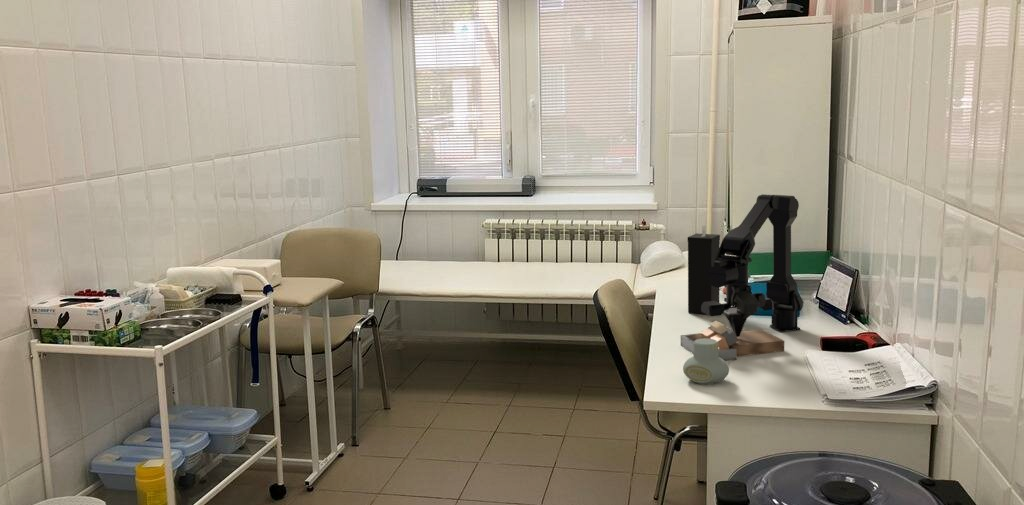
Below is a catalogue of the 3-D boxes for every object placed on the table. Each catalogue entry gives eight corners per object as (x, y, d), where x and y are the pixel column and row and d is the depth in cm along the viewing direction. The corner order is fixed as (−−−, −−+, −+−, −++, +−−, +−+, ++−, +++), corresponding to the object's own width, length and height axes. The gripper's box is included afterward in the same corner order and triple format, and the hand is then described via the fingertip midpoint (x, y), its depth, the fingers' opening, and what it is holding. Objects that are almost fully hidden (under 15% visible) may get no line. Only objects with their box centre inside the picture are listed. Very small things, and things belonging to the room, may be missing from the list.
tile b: (717, 333, 230) (710, 338, 230) (724, 337, 226) (716, 342, 226) (723, 346, 231) (715, 350, 231) (730, 350, 227) (722, 354, 227)
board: (761, 339, 241) (761, 329, 241) (784, 351, 230) (784, 340, 229) (712, 344, 238) (712, 334, 238) (733, 357, 227) (733, 346, 226)
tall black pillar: (719, 310, 276) (720, 224, 271) (711, 315, 270) (711, 228, 265) (696, 307, 280) (696, 223, 275) (687, 313, 274) (687, 226, 269)
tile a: (708, 328, 236) (700, 332, 236) (714, 331, 232) (706, 336, 232) (713, 340, 237) (705, 344, 237) (719, 344, 233) (711, 348, 233)
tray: (707, 342, 241) (707, 332, 240) (736, 359, 224) (736, 348, 224) (680, 345, 239) (680, 335, 238) (707, 363, 222) (707, 352, 222)
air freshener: (677, 381, 209) (677, 342, 207) (692, 372, 216) (692, 334, 214) (719, 389, 203) (720, 348, 201) (733, 379, 209) (734, 340, 207)
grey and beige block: (721, 331, 237) (714, 316, 236) (738, 340, 227) (731, 325, 226) (712, 336, 237) (705, 322, 235) (729, 346, 227) (721, 331, 226)
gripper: (718, 290, 220) (718, 348, 223) (784, 283, 224) (783, 340, 227) (700, 281, 231) (700, 337, 234) (763, 275, 235) (762, 330, 238)
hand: (737, 336), depth 233 cm, fingers closed
